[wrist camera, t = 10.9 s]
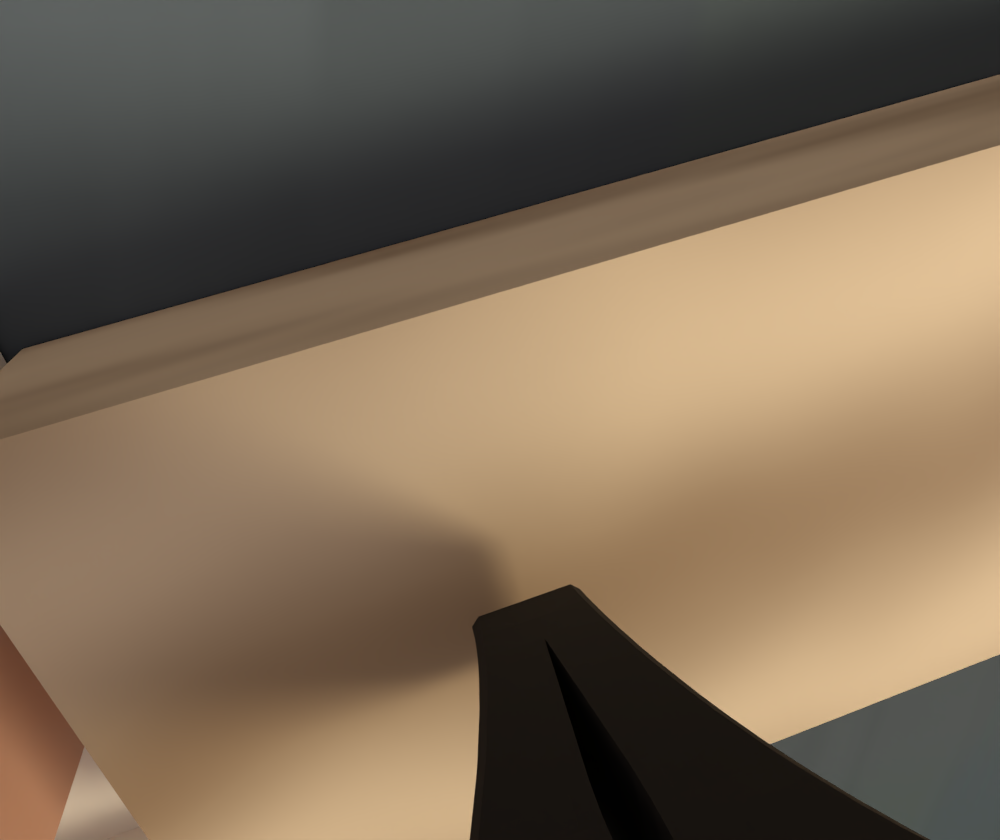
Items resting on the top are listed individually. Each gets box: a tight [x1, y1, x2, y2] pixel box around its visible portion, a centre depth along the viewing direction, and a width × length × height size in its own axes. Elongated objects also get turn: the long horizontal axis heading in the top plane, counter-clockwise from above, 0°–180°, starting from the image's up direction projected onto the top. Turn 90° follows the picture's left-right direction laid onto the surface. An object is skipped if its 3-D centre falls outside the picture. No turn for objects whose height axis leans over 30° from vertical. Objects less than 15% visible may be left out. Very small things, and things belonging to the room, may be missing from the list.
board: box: [0, 74, 1000, 840], centre depth 13 cm, size 9×24×4 cm, turn 102°
